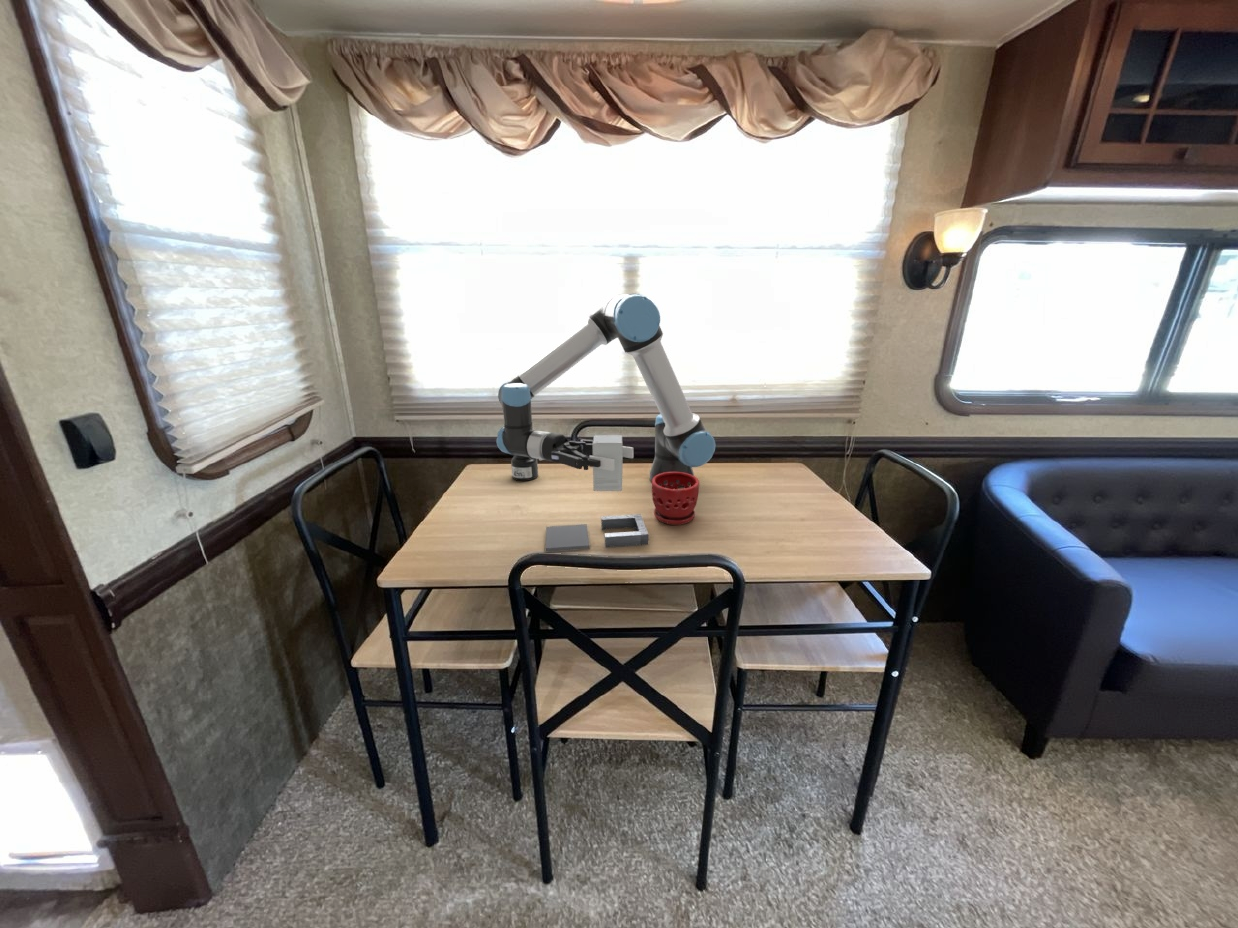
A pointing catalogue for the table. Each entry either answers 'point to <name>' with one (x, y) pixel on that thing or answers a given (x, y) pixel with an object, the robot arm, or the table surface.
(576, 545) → the mat
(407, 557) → the table surface
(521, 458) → the ink bottle
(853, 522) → the table surface
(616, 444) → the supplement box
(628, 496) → the table surface
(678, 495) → the plant pot
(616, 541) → the grey piece
